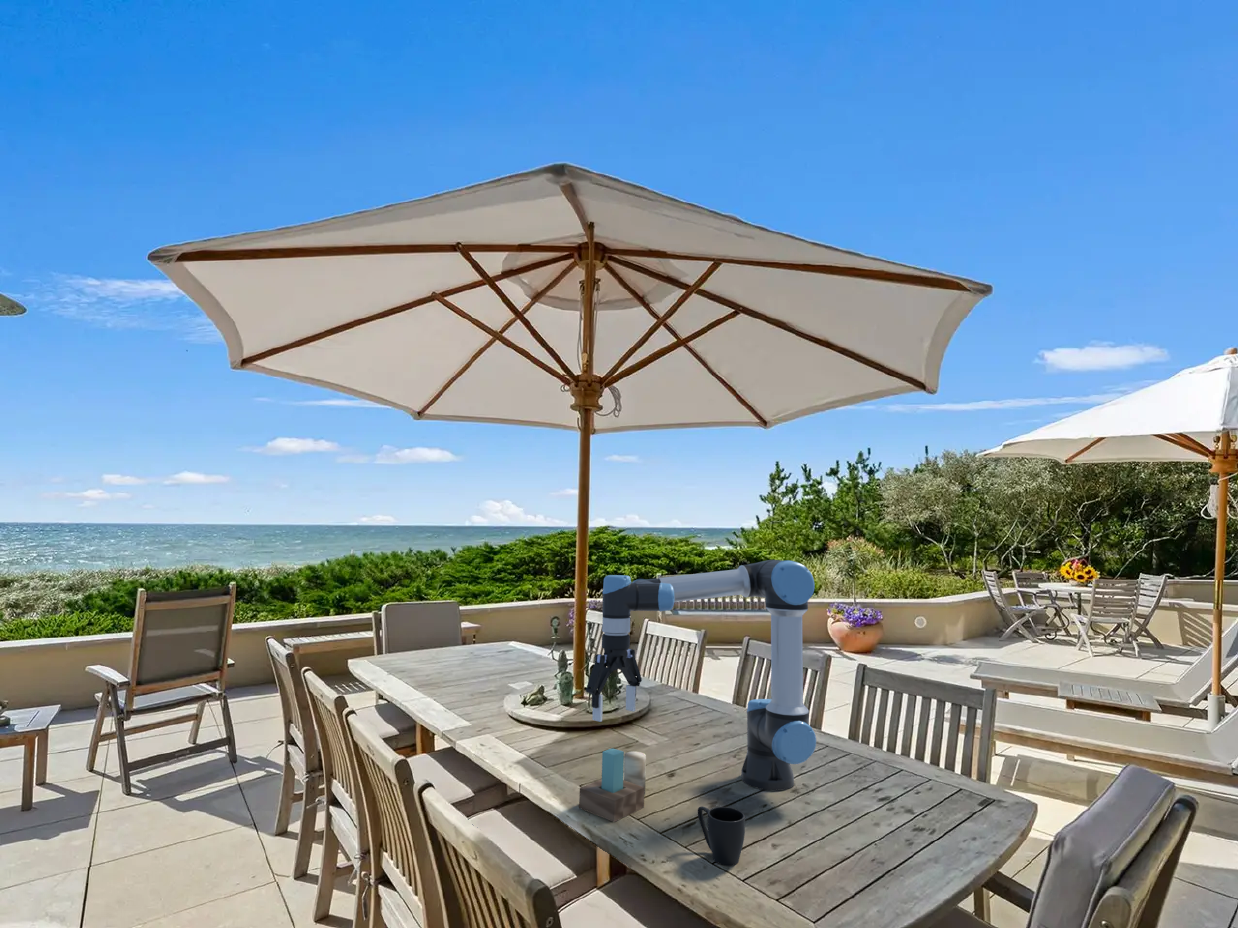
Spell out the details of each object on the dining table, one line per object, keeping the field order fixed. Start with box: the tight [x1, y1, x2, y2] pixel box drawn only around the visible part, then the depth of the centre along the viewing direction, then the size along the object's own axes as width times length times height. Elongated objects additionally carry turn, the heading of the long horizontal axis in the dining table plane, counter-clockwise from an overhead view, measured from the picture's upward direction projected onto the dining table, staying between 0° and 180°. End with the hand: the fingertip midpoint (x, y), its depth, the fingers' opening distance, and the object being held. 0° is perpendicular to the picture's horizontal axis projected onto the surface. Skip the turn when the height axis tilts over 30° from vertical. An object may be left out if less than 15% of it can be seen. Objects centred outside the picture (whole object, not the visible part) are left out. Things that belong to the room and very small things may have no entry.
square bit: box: [601, 747, 625, 793], centre depth 167 cm, size 4×4×14 cm
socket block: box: [578, 778, 645, 823], centre depth 167 cm, size 12×12×5 cm
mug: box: [697, 806, 746, 867], centre depth 142 cm, size 8×12×10 cm
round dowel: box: [623, 750, 647, 796], centre depth 177 cm, size 6×6×10 cm
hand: (614, 715), depth 169 cm, fingers open, 13 cm apart
